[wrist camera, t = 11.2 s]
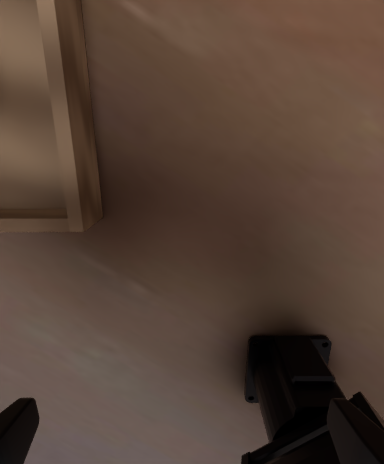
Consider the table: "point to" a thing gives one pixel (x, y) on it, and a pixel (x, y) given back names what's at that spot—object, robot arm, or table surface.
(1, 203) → the box
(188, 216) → the table surface
